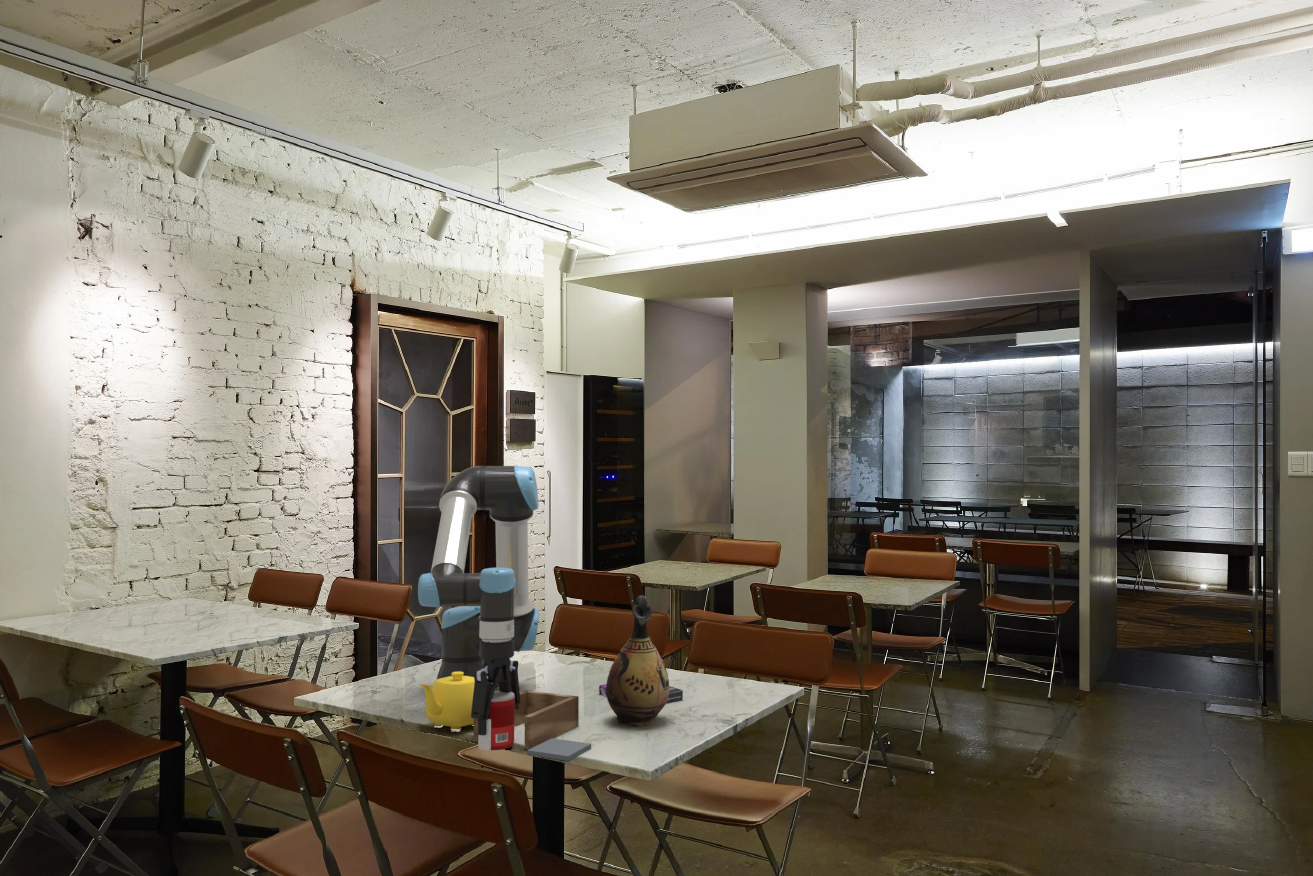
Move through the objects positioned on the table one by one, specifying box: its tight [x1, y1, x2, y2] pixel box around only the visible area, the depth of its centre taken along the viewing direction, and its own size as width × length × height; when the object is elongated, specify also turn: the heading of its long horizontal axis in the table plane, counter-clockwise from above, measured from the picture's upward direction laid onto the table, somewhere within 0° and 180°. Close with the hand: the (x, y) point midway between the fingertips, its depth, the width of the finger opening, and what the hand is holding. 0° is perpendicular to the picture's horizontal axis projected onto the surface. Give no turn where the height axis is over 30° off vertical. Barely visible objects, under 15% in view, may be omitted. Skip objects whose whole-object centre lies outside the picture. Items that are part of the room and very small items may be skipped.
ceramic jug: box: [605, 594, 671, 728], centre depth 224 cm, size 17×15×30 cm
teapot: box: [419, 672, 475, 730], centre depth 217 cm, size 14×20×13 cm
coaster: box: [526, 738, 592, 762], centre depth 198 cm, size 10×10×1 cm
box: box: [598, 683, 684, 705], centre depth 247 cm, size 14×4×20 cm
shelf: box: [472, 690, 580, 750], centre depth 212 cm, size 15×21×7 cm
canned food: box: [488, 690, 515, 751], centre depth 200 cm, size 8×8×11 cm
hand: (496, 744), depth 200 cm, fingers closed on canned food, 8 cm apart
